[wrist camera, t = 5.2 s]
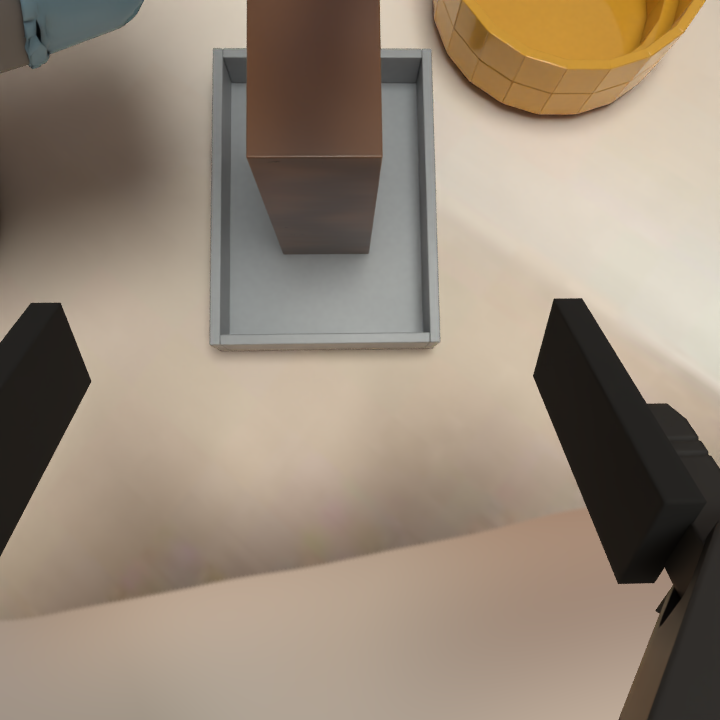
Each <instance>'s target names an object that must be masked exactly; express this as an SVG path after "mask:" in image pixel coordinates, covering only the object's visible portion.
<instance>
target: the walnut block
mask: <svg viewBox="0 0 720 720" xmlns="http://www.w3.org/2000/svg"><path fill="white" fill-rule="evenodd" d="M246 158H247V161H248V163H249V166H250V168H251V171H252V174H253V176H254V179H255V181H256V184H257V187H258V189H259V192H260V195H261V197H262V200H263V202H264V205H265V208H266V210H267V213H268V215H269V218H270V221H271V223H272V226H273V229H274V231H275V234H276V236H277V239H278V242H279V244H280V247H281V249H282V252H283V254H369V250H370V243H371V236H372V229H373V222H374V215H375V208H376V201H377V194H378V187H379V180H380V173H381V165H382V158H383V143H382V95H381V46H380V0H247V84H246Z"/></svg>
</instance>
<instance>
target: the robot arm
mask: <svg viewBox="0 0 720 720" xmlns="http://www.w3.org/2000/svg"><path fill="white" fill-rule="evenodd" d="M143 1H144V0H0V73H3V72H6V71H10V70H13V69H16V68H19V67H23V66H26V65H29V67H31V68H32V69H35V68H38V67H40V66H41V65H42V64H45V63H46V62H47V61H48V59H49V56H50V54H53V53H55V52H58V51H60V50H63V49H66V48H68V47H71V46H74V45H76V44H79V43H82V42H84V41H87V40H90V39H92V38H95V37H98V36H100V35H103V34H106V33H108V32H111V31H114V30H116V29H119V28H121V27H122V26H124V25H126V23H128V22H129V21H130V20H132V19H133V18H134V17H135V15H136V14H137V13H138V11H139V9H140V7H141V5H142V3H143ZM533 377H534V379H535V382H536V384H537V387H538V389H539V392H540V394H541V397H542V399H543V401H544V404H545V406H546V409H547V411H548V414H549V416H550V419H551V421H552V423H553V426H554V428H555V431H556V433H557V436H558V438H559V441H560V443H561V445H562V448H563V450H564V453H565V455H566V458H567V460H568V462H569V465H570V467H571V470H572V472H573V475H574V477H575V480H576V482H577V484H578V487H579V489H580V492H581V494H582V497H583V499H584V502H585V504H586V506H587V509H588V511H589V514H590V516H591V518H592V521H593V523H594V526H595V528H596V531H597V533H598V536H599V538H600V541H601V543H602V545H603V548H604V550H605V553H606V555H607V558H608V560H609V562H610V565H611V567H612V570H613V572H614V575H615V577H616V580H617V582H618V584H631V583H632V584H633V583H654V582H655V581H656V580H657V578H658V577H659V575H660V574H661V572H662V570H663V569H664V567H665V569H666V571H667V573H668V575H669V577H670V579H671V581H672V583H673V586H672V588H671V589H670V590H669V592H668V593H667V595H666V596H665V598H664V599H663V600H662V602H661V603H660V605H659V606H658V608H657V609H656V612H658V613H660V615H659V617H658V620H657V622H656V625H655V627H654V630H653V633H652V635H651V638H650V640H649V643H648V645H647V648H646V651H645V653H644V656H643V658H642V661H641V663H640V666H639V668H638V671H637V673H636V676H635V679H634V681H633V684H632V686H631V689H630V692H629V694H628V697H627V699H626V702H625V704H624V707H623V709H622V712H621V714H620V717H619V720H720V468H719V467H718V465H717V464H716V462H715V461H714V459H713V458H712V456H709V455H708V451H707V449H706V448H705V446H704V445H703V443H702V442H701V441H699V440H698V436H697V434H696V433H695V431H694V430H693V428H692V427H691V425H690V424H689V422H688V421H687V419H686V418H684V417H683V416H682V415H681V414H679V413H678V412H677V411H676V410H674V409H673V408H672V407H671V406H669V405H668V404H647V403H646V402H645V400H644V399H643V397H642V395H641V394H640V392H639V390H638V389H637V387H636V385H635V384H634V382H633V381H632V379H631V377H630V376H629V374H628V372H627V371H626V369H625V368H624V366H623V364H622V363H621V361H620V359H619V358H618V356H617V355H616V353H615V351H614V350H613V348H612V346H611V345H610V343H609V342H608V340H607V338H606V337H605V335H604V333H603V332H602V330H601V329H600V327H599V325H598V324H597V322H596V320H595V319H594V317H593V315H592V314H591V312H590V311H589V309H588V307H587V306H586V304H585V302H584V301H583V299H582V298H578V299H554V300H553V304H552V308H551V312H550V315H549V319H548V323H547V326H546V330H545V334H544V338H543V341H542V345H541V349H540V352H539V356H538V360H537V364H536V367H535V371H534V375H533ZM90 383H91V379H90V377H89V374H88V371H87V369H86V366H85V364H84V361H83V359H82V356H81V354H80V351H79V349H78V346H77V343H76V341H75V338H74V336H73V333H72V331H71V328H70V326H69V323H68V321H67V318H66V315H65V313H64V310H63V308H62V305H61V303H31V304H30V305H29V306H28V308H27V309H26V310H25V311H24V313H23V314H22V315H21V317H20V318H19V319H18V320H17V322H16V323H15V324H14V326H13V327H12V328H11V329H10V331H9V332H8V333H7V335H6V336H5V337H4V339H3V340H2V341H1V342H0V556H1V554H2V552H3V550H4V548H5V546H6V544H7V542H8V541H9V539H10V537H11V535H12V533H13V531H14V529H15V527H16V525H17V523H18V521H19V519H20V518H21V516H22V514H23V512H24V510H25V508H26V506H27V504H28V502H29V500H30V498H31V496H32V494H33V493H34V491H35V489H36V487H37V485H38V483H39V481H40V479H41V477H42V475H43V473H44V471H45V470H46V468H47V466H48V464H49V462H50V460H51V458H52V456H53V454H54V452H55V450H56V448H57V446H58V445H59V443H60V441H61V439H62V437H63V435H64V433H65V431H66V429H67V427H68V425H69V423H70V422H71V420H72V418H73V416H74V414H75V412H76V410H77V408H78V406H79V404H80V402H81V400H82V398H83V397H84V395H85V393H86V391H87V389H88V387H89V385H90Z"/></svg>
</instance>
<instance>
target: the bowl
mask: <svg viewBox="0 0 720 720" xmlns="http://www.w3.org/2000/svg"><path fill="white" fill-rule="evenodd" d="M705 1H706V0H433V2H434V19H435V23H436V25H437V28H438V31H439V33H440V36H441V39H442V41H443V44H444V47H445V49H446V52H447V54H448V55H449V57H450V58H451V59H452V60H453V62H454V63H455V64H456V65H457V67H458V68H459V69H460V70H461V72H462V73H463V74H464V75H465V77H466V78H467V79H468V80H469V82H471V83H472V84H474V85H475V86H477V87H478V88H480V89H481V90H483V91H484V92H486V93H487V94H489V95H490V96H492V97H493V98H495V99H496V100H498V101H499V102H501V103H503V104H505V105H509V106H512V107H515V108H518V109H522V110H525V111H528V112H531V113H535V114H540V115H547V114H579V113H582V112H585V111H588V110H592V109H595V108H598V107H601V106H604V105H607V104H610V103H613V102H614V101H615V100H617V99H618V98H619V97H621V96H622V95H624V94H625V93H626V92H628V91H629V90H630V89H632V88H633V87H635V86H636V85H637V84H639V83H640V82H641V81H642V80H643V79H644V77H645V76H646V75H647V74H648V73H649V72H650V71H651V69H652V68H653V67H654V66H655V65H656V64H657V63H658V61H659V60H660V59H661V58H662V57H663V56H664V55H665V54H666V52H667V51H668V50H669V49H670V48H671V47H672V46H673V44H674V43H675V42H676V41H677V40H678V39H679V38H680V36H681V35H682V34H683V33H684V32H685V30H686V29H687V27H688V26H689V25H690V23H691V22H692V20H693V19H694V17H695V16H696V14H697V13H698V11H699V10H700V8H701V7H702V6H703V4H704V3H705Z"/></svg>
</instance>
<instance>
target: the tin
mask: <svg viewBox="0 0 720 720" xmlns="http://www.w3.org/2000/svg"><path fill="white" fill-rule="evenodd" d="M246 84H247V48H224V49H222V48H214V49H213V95H212V181H211V267H210V345H211V346H213V347H215V348H217V349H219V350H220V351H253V350H332V349H412V348H433V347H434V346H436V345H437V344H438V343H439V342H440V314H439V281H438V248H437V216H436V183H435V150H434V118H433V85H432V52H431V49H422V50H421V49H381V95H382V143H383V158H382V165H381V173H380V180H379V187H378V194H377V201H376V208H375V215H374V222H373V229H372V236H371V243H370V250H369V254H283V252H282V249H281V247H280V244H279V242H278V239H277V236H276V234H275V231H274V229H273V226H272V223H271V221H270V218H269V215H268V213H267V210H266V208H265V205H264V202H263V200H262V197H261V195H260V192H259V189H258V187H257V184H256V181H255V179H254V176H253V174H252V171H251V168H250V166H249V163H248V161H247V158H246Z"/></svg>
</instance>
